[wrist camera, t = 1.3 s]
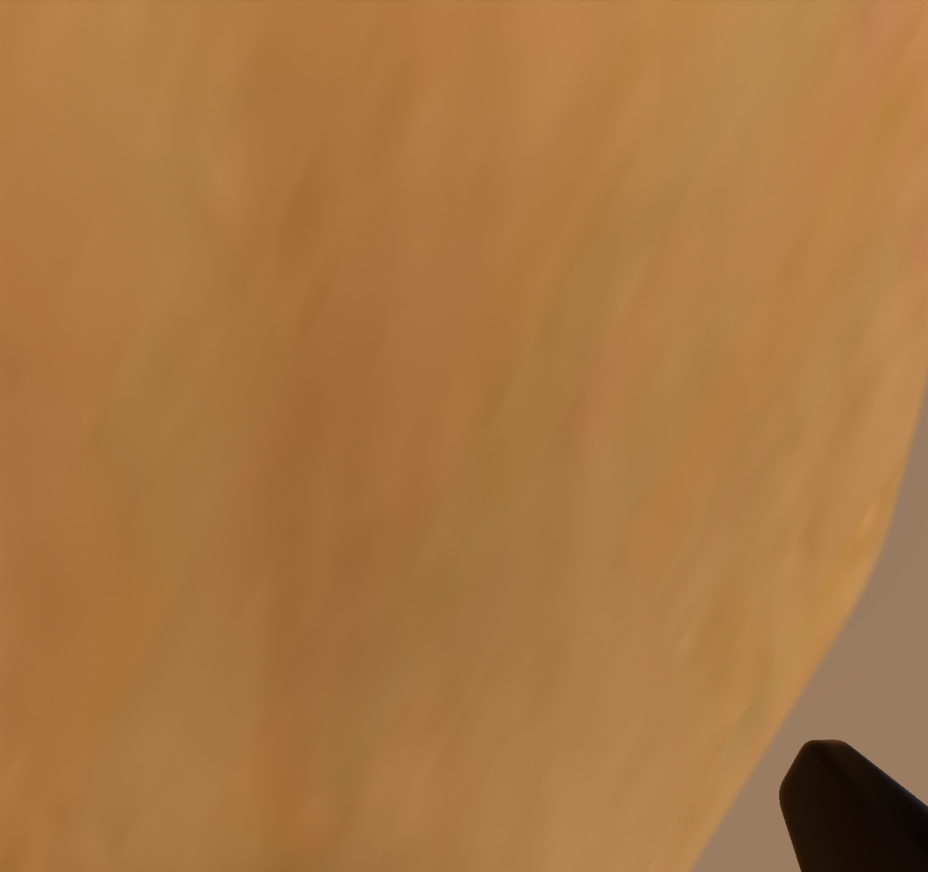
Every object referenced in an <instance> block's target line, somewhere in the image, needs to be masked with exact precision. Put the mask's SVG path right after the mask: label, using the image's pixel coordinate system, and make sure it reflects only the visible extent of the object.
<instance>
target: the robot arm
mask: <svg viewBox="0 0 928 872" xmlns="http://www.w3.org/2000/svg"><path fill="white" fill-rule="evenodd" d="M779 800H780V806H781V810H782V813H783V816H784V819H785V823H786V825H787V829H788V832H789V835H790V838H791V841H792V844H793V848H794V851H795V854H796V857H797V860H798V863H799V866H800V869H801V872H928V806H927V805H925V804H924V803H923V802H922V801H920V800H919V799H918V798H916V797H915V796H914V795H913V794H911V793H910V792H909V791H907V790H906V789H905V788H904V787H902V786H901V785H900V784H898V783H897V782H896V781H895V780H893V779H892V778H891V777H890V776H888V775H887V774H886V773H884V772H883V771H882V770H881V769H879V768H878V767H877V766H875V765H874V764H873V763H872V762H870V761H869V760H868V759H867V758H865V757H864V756H863V755H861V754H860V753H859V752H858V751H856V750H855V749H853V748H852V747H851V746H850V745H848V744H847V743H845V742H843V741H840V740H811V741H809V742H807V743H805V744H804V745H803V747H802V748H801V750H800V751H799V753H798V755H797V756H796V758H795V760H794V762H793V764H792V765H791V767H790V769H789V771H788V772H787V774H786V776H785V778H784V780H783V781H782V784H781V786H780V791H779Z"/></svg>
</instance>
